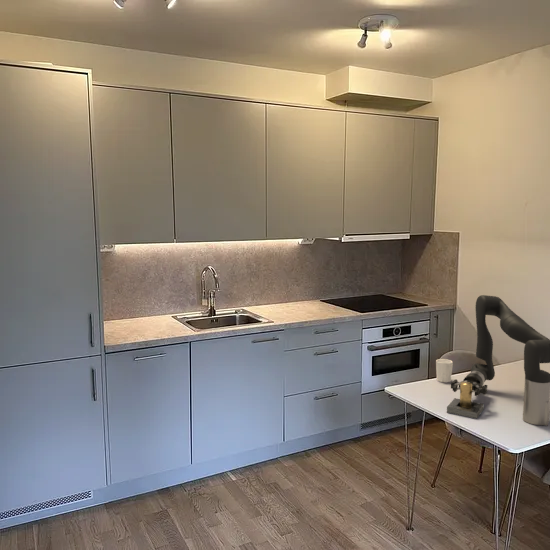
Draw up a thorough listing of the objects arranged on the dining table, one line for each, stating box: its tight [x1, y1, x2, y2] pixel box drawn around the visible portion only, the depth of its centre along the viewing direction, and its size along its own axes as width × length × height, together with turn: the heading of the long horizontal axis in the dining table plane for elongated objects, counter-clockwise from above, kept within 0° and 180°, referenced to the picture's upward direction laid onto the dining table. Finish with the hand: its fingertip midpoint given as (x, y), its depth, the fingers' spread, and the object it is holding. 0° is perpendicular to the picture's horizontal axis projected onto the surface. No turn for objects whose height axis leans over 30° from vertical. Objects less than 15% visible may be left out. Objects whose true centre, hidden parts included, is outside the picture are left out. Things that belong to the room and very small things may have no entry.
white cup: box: [435, 358, 453, 383], centre depth 250 cm, size 8×8×10 cm
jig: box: [446, 398, 485, 420], centre depth 211 cm, size 12×12×2 cm
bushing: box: [459, 381, 473, 409], centre depth 211 cm, size 5×5×12 cm
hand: (464, 391), depth 209 cm, fingers open, 8 cm apart
